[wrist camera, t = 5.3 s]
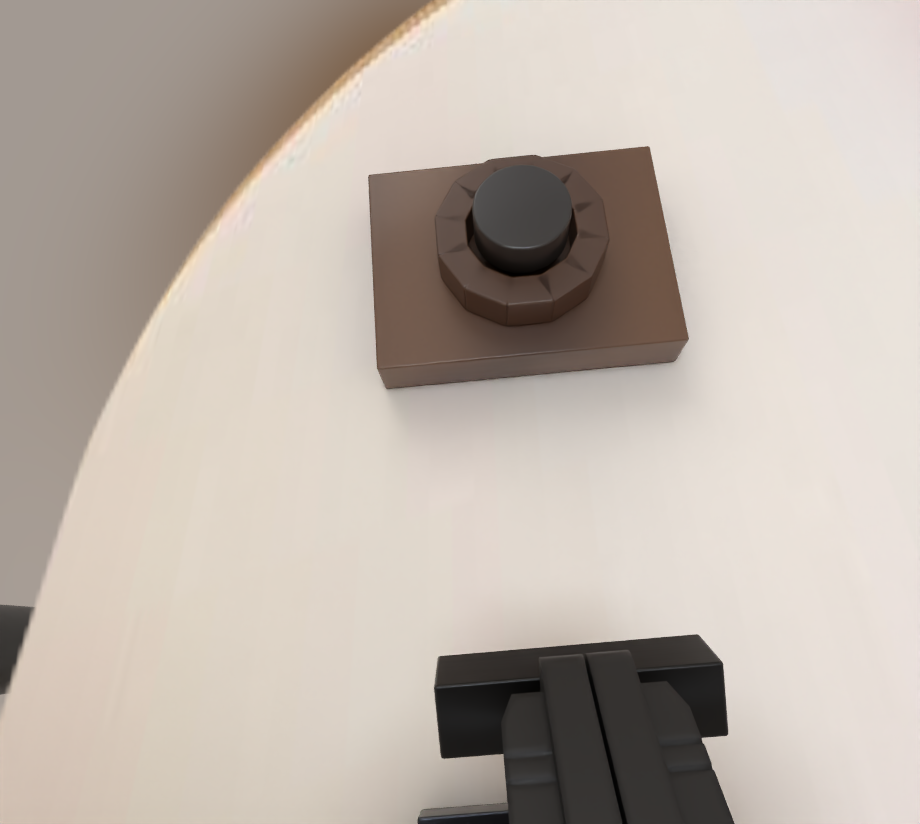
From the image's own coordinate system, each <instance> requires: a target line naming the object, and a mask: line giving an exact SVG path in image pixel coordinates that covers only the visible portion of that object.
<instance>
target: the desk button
mask: <svg viewBox="0 0 920 824" xmlns="http://www.w3.org/2000/svg"><path fill="white" fill-rule="evenodd" d="M472 212H473V228H474V239H475V243H476V246H477V248H478V250H479V252H480V253H481V255H482V256H483V257H484V258H485V259H486V260H487V261H488V262H489V263H490V264H492V265H493V266H495V267H497V268H499V269H501V270H504V271H507V272H511V273H530V272H534V271H538V270H540V269H543V268H545V267H546V266H548V265H550V264H551V263H552V262H554V261H555V260H556V259H557V258H558V257H559V255H560V254H561V253H562V251H563V250H564V248H565V245H566V243H567V238H568V233H569V227H570V221H571V215H572V200H571V196H570V194H569V191H568V189H567V188H566V186H565V185H564V183H563V182H562V181H561V180H560V179H559V178H558V177H557V176H556V175H554V174H553V173H551V172H549V171H548V170H545V169H543V168H540V167H537V166H532V165H514V166H509V167H505V168H502V169H500V170H498V171H496V172H494V173H493V174H491V175H490V176H488V177H487V178H486V179H485V180H484V181H483V182H482V184H481V185H480V186H479V188H478V189H477V191H476V193H475V196H474V199H473V205H472Z"/></svg>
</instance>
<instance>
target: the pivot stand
mask: <svg viewBox="0 0 920 824" xmlns="http://www.w3.org/2000/svg"><path fill="white" fill-rule="evenodd" d="M418 824H509V813H508V803H500V804H487V805H474V806H462V807H449V808H437V809H424V810H422V811H421V813H420V815H419V817H418Z"/></svg>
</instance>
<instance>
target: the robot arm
mask: <svg viewBox="0 0 920 824" xmlns="http://www.w3.org/2000/svg"><path fill="white" fill-rule="evenodd" d="M539 675H540V691H541V692H532V693H520V694H511V697H510V699H509V702H508V705H507V707H506V710H505V713H504V715H503V718H502V721H501V729H502V741H503V753H504V765H505V777H506V789H507V801H508V813H509V824H734V821H733V819H732V816H731V813H730V811H729V808H728V806H727V803H726V800H725V798H724V795H723V793H722V790H721V787H720V785H719V782H718V779H717V777H716V774H715V772H714V770H713V769H712V765H711V761H710V758H709V756H708V753H707V751H706V748H705V745H704V744H703V743H702V737H701V735H700V732H699V730H698V727H697V724H696V722H695V719H694V716H693V714H692V711H691V709H690V706H689V705H688V704H687V703H686V702H685V701H684V700H683V699H682V697H681V696H680V695H679V694H678V693H677V692H676V691H675V690H674V689H673V687H672V686H671V685H670V684H669V683H668V682H667V681H661V682H649V683H640V680H639V676H638V673H637V670H636V667H635V664H634V661H633V658H632V655H631V653H630V651H629V650H619V651H608V652H596V653H585V654H584V658H583V655H582V654H575V655H563V656H551V657H539Z"/></svg>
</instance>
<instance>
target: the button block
mask: <svg viewBox="0 0 920 824" xmlns="http://www.w3.org/2000/svg"><path fill="white" fill-rule="evenodd" d="M514 165H532V166H537V167H540V168H543V169H545V170H548V171H549V172H551V173H553V174H554V175H556V176H557V177H558V178H559V179H560V180H561V181H562V182H563V183H564V185H565V186H566V188H567V189H568V191H569V194H570V196H571V200H572V215H571V221H570V227H569V233H568V238H567V243H566V245H565V248H564V250H563V251H562V253H561V254H560V255H559V257H558V258H557V259H556V260H555V261H554V262H552V263H551V264H550V265H548V266H546V267H545V268H543V269H540V270H538V271H534V272H530V273H511V272H507V271H504V270H501V269H499V268H497V267H495V266H493V265H492V264H490V263H489V262H488V261H487V260H486V259H485V258H484V257H483V256H482V255H481V253H480V252H479V250H478V248H477V246H476V243H475V239H474V228H473V212H472V205H473V199H474V196H475V193H476V191H477V189H478V188H479V186H480V185H481V184H482V182H483V181H484V180H485V179H486V178H487V177H488V176H490V175H491V174H493V173H494V172H496V171H498V170H500V169H502V168H505V167H509V166H514ZM368 181H369V202H370V224H371V246H372V268H373V290H374V311H375V333H376V355H377V369H378V371H379V374H380V376H381V378H382V380H383V383H384V385H385V387H386V388H397V387H407V386H418V385H428V384H439V383H449V382H460V381H471V380H481V379H492V378H502V377H513V376H523V375H534V374H544V373H555V372H566V371H576V370H587V369H597V368H608V367H618V366H629V365H639V364H650V363H661V362H671V361H675V360H676V359H677V357H678V356H679V354H680V352H681V351H682V349H683V348H684V346H685V344H686V343H687V341H688V339H689V338H688V333H687V328H686V323H685V318H684V313H683V309H682V304H681V299H680V294H679V289H678V284H677V279H676V274H675V269H674V264H673V260H672V255H671V250H670V245H669V240H668V235H667V230H666V225H665V220H664V215H663V211H662V206H661V201H660V196H659V191H658V186H657V181H656V176H655V171H654V166H653V162H652V157H651V152H650V147H648V146H647V147H637V148H628V149H618V150H608V151H598V152H589V153H579V154H569V155H559V156H550V157H540V156H537V155H534V156H533V155H527V156H517V157H507V158H498V159H491V160H488V161H486V162H485V163H481V164H472V165H462V166H452V167H442V168H433V169H423V170H413V171H403V172H394V173H384V174H374V175H369V177H368Z"/></svg>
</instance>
